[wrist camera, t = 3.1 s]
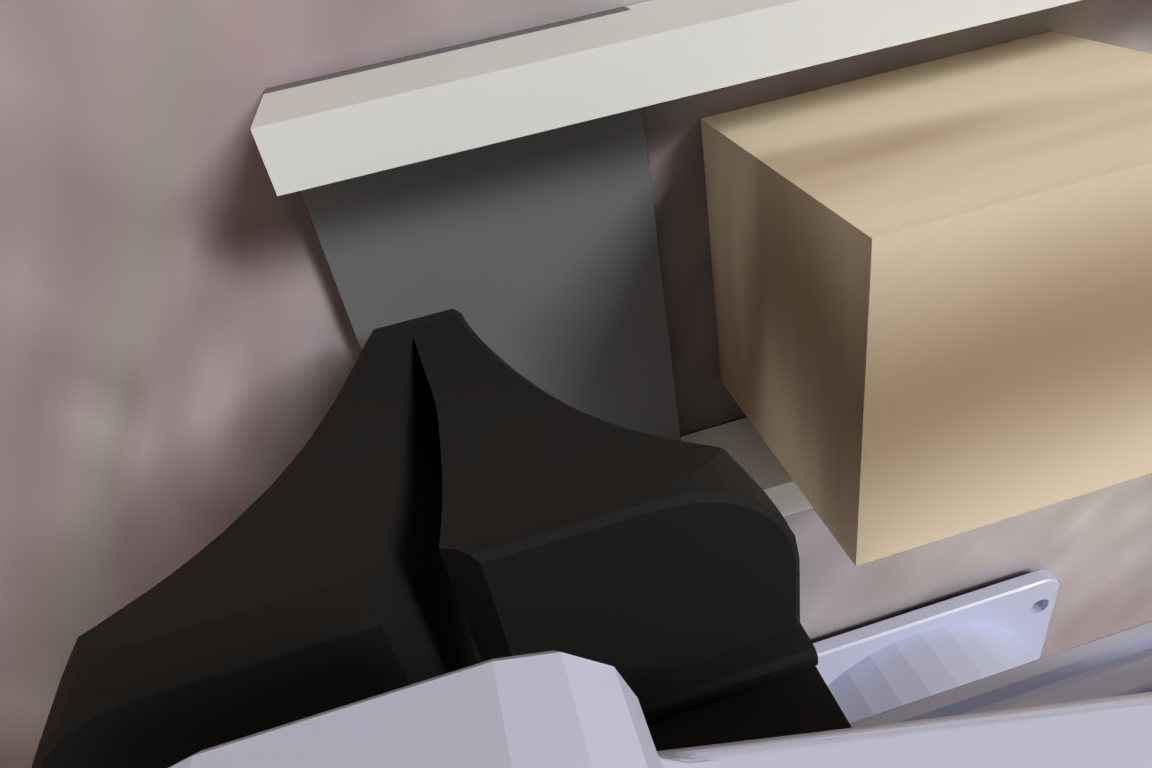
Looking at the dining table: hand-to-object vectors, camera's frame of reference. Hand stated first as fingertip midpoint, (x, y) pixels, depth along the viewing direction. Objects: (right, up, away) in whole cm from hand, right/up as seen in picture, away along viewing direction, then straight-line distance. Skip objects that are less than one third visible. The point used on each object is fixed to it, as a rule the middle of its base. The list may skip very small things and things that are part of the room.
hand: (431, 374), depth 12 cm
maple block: (+7, +3, +2) cm, 8 cm away
